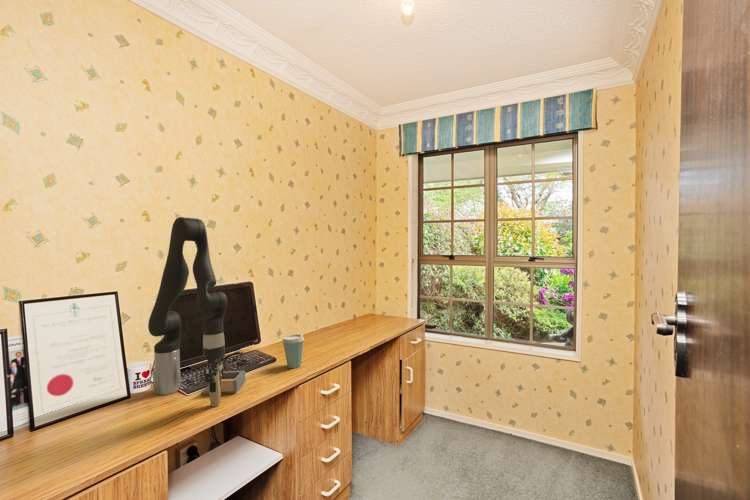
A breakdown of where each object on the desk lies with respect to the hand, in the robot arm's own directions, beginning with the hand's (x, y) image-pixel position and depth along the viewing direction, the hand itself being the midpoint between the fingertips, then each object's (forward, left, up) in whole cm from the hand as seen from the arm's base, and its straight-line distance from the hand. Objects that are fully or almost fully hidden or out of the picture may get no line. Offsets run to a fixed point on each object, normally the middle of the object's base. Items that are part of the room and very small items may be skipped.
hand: (215, 389), depth 140 cm
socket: (-3, +16, -6) cm, 17 cm away
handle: (0, 0, -6) cm, 6 cm away
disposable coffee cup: (+22, +42, -6) cm, 48 cm away
